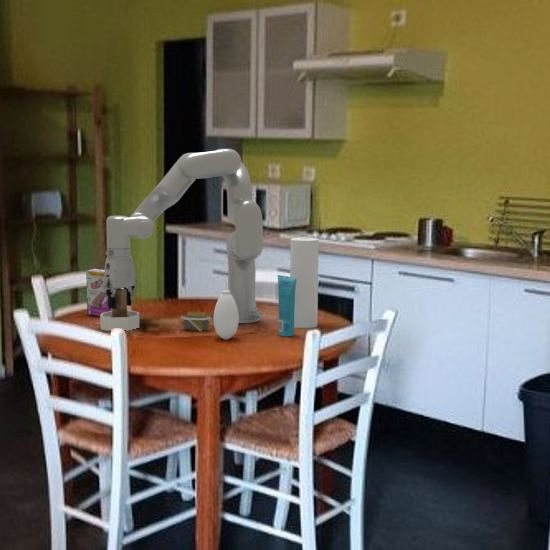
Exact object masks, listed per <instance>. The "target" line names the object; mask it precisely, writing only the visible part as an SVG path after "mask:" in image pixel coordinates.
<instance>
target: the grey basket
mask: <svg viewBox="0 0 550 550" xmlns="http://www.w3.org/2000/svg"><path fill="white" fill-rule="evenodd" d="M180 319H182V320H183V330H184V329H192V330H191V331H199V332H203V331H202V330H208V331H209V328H208V321H209V320H211V319H212V317H211V316H210V315H206V312H205V311H195V312H194V311H187V315H181V316H180Z"/></svg>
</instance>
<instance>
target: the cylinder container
mask: <svg viewBox="0 0 550 550" xmlns="http://www.w3.org/2000/svg"><path fill="white" fill-rule="evenodd" d="M319 244H320V243H319V238H316V237H315V238H314V237H306V236H303V237H295V238H293V237H292V238H290V260H289V261H290V265H289V266H290V267H289V268H290V271H289V273H290V275H289V277H297V278H296V289H295V312H294V329H295V328H296V329H312V328H317V327H318V308H319V307H318V306H319V305H318V304H319V297H318V296H319V294H318V293H319V292H318V291H319V247H320V246H319Z"/></svg>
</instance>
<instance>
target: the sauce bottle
mask: <svg viewBox="0 0 550 550" xmlns="http://www.w3.org/2000/svg"><path fill="white" fill-rule="evenodd" d="M224 288H225V289H224V290H222V291H221V294H220V296H219V297H218V299H217V302H216V304H215V307H214V310H213V327H214V329H215V332H216V334H217V336H219V337H220V338H221V339H222V340H230V339H231V338H232V337H233V336H235V334H236V332H237V330H238V328H239V327H238V326H239V324H240V323H239V314H238V309H237V305H236V302H235V300H234V298H233V296H232V295H231V294H230V291H229V290H228V282H225V287H224Z"/></svg>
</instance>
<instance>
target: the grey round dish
mask: <svg viewBox="0 0 550 550" xmlns="http://www.w3.org/2000/svg"><path fill="white" fill-rule="evenodd" d="M99 319H100V320H99V321H100V330H101V331H107V332H111V331H110V330H111V329H112V328H122V329H125V330H126V331H125V332H130V331H133V330H132V329H135V330H137V329H136V328H139V329H140V312H139V311H134V310H128V309H127V317H112V311H109V312H104V313H101V315H100V317H99ZM129 330H130V331H129Z"/></svg>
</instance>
